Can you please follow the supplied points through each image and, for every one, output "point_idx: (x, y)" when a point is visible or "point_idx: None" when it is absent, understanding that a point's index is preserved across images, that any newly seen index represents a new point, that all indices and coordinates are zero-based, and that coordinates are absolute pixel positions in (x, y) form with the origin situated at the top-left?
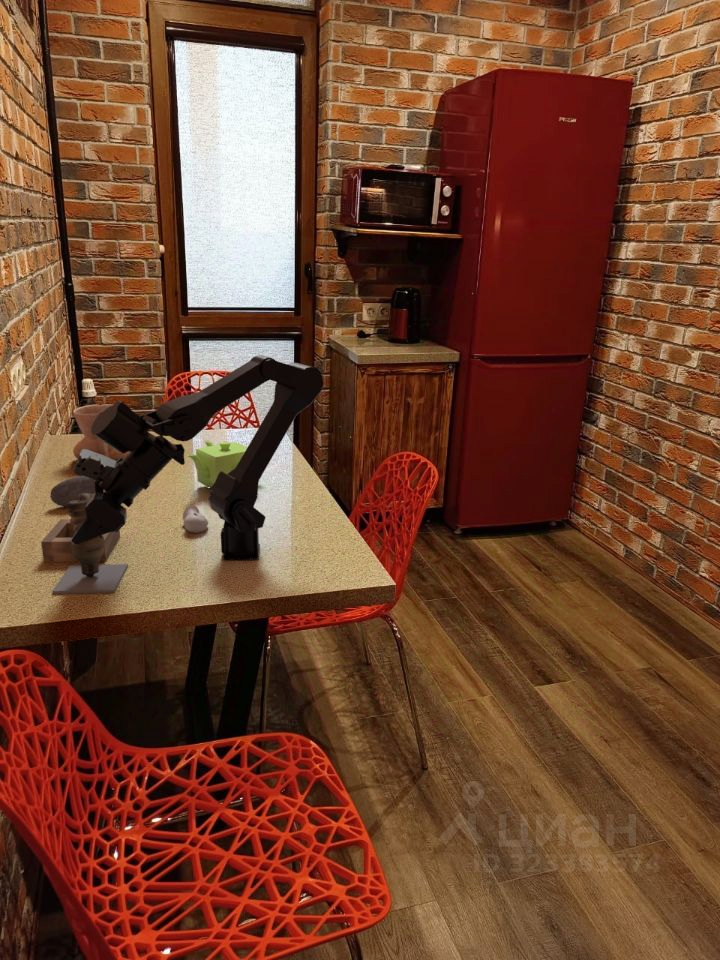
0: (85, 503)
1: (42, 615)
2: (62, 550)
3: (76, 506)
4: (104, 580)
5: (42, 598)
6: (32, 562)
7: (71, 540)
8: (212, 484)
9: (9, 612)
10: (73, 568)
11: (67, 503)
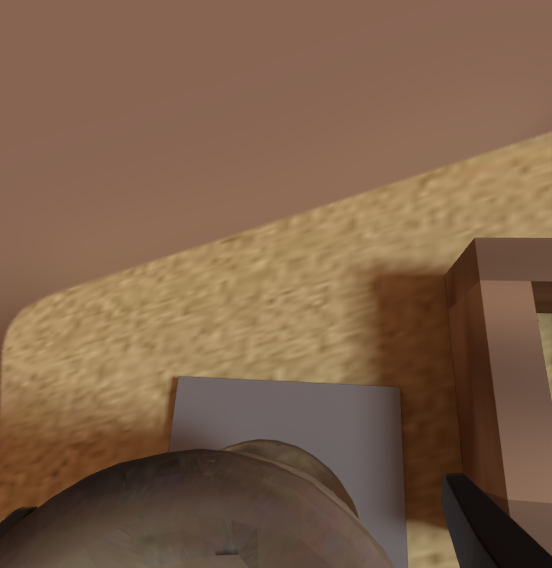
0: None
1: (41, 386)
2: (467, 335)
3: None
4: None
5: (156, 353)
6: (441, 239)
7: (15, 510)
8: None
9: (88, 284)
10: (365, 407)
11: (121, 472)
